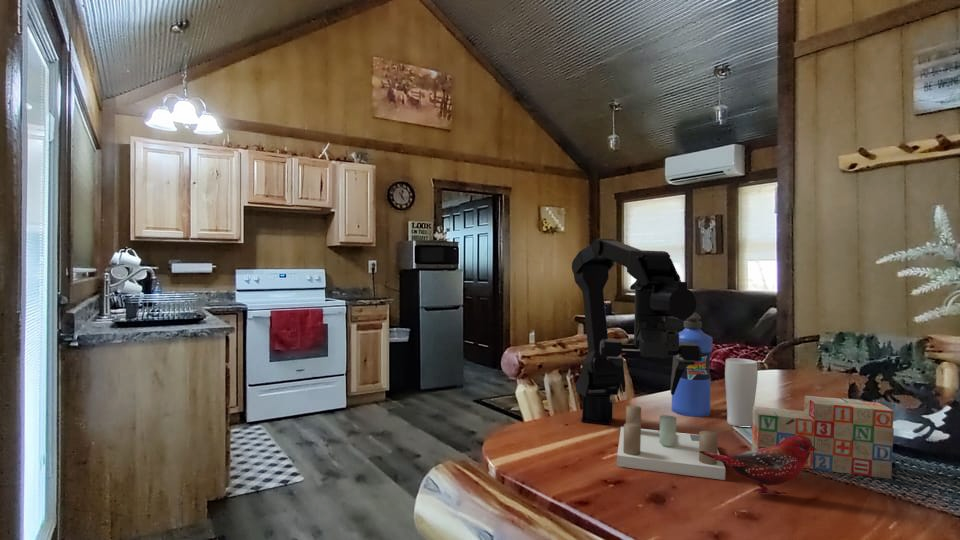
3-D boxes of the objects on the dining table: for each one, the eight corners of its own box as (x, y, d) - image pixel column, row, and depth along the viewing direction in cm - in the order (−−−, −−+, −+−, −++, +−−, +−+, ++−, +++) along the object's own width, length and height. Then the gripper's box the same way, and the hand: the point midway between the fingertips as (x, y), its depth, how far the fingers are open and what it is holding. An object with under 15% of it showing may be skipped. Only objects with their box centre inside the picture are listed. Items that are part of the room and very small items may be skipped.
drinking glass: (748, 421, 126) (750, 358, 126) (761, 430, 119) (763, 363, 119) (719, 420, 126) (721, 357, 126) (729, 428, 120) (731, 362, 120)
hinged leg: (658, 430, 110) (658, 406, 110) (673, 431, 109) (674, 407, 109) (659, 444, 101) (660, 418, 101) (676, 446, 100) (676, 420, 100)
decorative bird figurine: (819, 502, 83) (821, 439, 82) (700, 492, 86) (701, 430, 86) (811, 494, 85) (813, 433, 85) (696, 484, 89) (697, 425, 88)
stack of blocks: (757, 463, 99) (758, 398, 99) (751, 452, 105) (752, 390, 105) (892, 479, 93) (894, 409, 93) (877, 466, 99) (879, 401, 99)
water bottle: (667, 405, 139) (669, 310, 138) (704, 407, 137) (707, 311, 137) (675, 415, 129) (677, 313, 129) (715, 418, 128) (718, 315, 128)
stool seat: (616, 466, 96) (617, 427, 96) (620, 435, 113) (621, 403, 113) (725, 480, 91) (726, 439, 91) (712, 446, 108) (712, 411, 108)
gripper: (603, 316, 98) (601, 400, 98) (710, 320, 95) (708, 406, 95) (600, 311, 109) (598, 386, 109) (696, 314, 106) (694, 392, 106)
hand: (647, 393), depth 105 cm, fingers open, 9 cm apart
